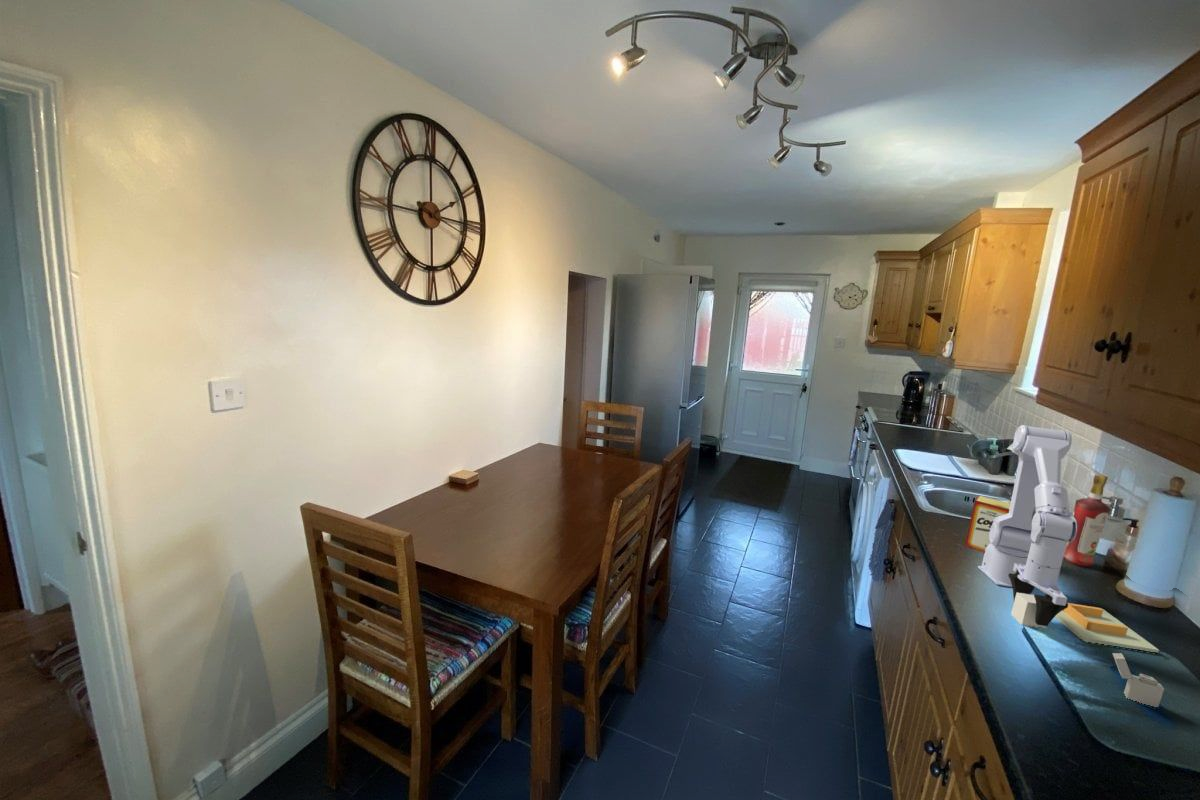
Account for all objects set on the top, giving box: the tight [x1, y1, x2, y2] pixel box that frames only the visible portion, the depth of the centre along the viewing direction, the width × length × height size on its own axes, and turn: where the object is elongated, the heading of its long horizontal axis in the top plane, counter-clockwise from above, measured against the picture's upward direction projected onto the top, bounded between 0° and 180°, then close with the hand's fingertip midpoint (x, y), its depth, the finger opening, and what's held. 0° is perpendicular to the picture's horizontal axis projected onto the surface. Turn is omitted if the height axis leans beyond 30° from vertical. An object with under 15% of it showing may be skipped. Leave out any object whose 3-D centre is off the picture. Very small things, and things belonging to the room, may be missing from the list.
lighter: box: [1111, 652, 1165, 708], centre depth 90 cm, size 7×2×8 cm, turn 57°
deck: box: [1054, 602, 1160, 653], centre depth 112 cm, size 15×14×3 cm
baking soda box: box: [964, 495, 1012, 553], centre depth 147 cm, size 10×6×16 cm
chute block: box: [1010, 593, 1048, 629], centre depth 112 cm, size 4×5×6 cm
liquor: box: [1063, 473, 1112, 567], centre depth 141 cm, size 7×7×28 cm
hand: (1030, 614), depth 112 cm, fingers open, 7 cm apart
